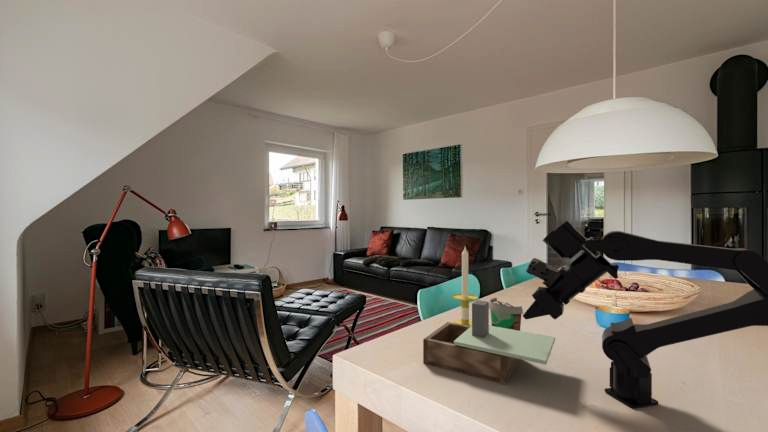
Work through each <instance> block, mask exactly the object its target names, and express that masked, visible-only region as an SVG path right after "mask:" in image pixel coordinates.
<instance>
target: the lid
mask: <svg viewBox="0 0 768 432" xmlns="http://www.w3.org/2000/svg"><path fill="white" fill-rule="evenodd" d="M489 313H490V309H489V301H486V300H479V299H478V300H475V301H474V302H472V303H471V322H472V326H471V327H470V328H468V329H467V330H466V331H465V332H464V333H463V334H461V335H460V336H459V337H458V338H457V339H456V340H455V341H454V345H458V346H462V347H467V348H472V349H476V350H481V351H485V352H490V353H495V354H499V355H504V356H508V357H513V358H517V359H520V360H523V361H528V362H532V363H536V364H540V365H547V363H548V360H549V358H550V355H551V352H552V350H553V347H554V344H555V342H556V337H555V336H552V335H546V334H540V333H534V332H530V331H529V332H528V331H523V330H520V331H518V330H512V329H507V328H501V327H495V326H492V325H490V322H489V321H490V318H489Z"/></svg>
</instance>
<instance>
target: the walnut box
mask: <svg viewBox="0 0 768 432" xmlns="http://www.w3.org/2000/svg"><path fill="white" fill-rule="evenodd" d="M451 322H452V321H447V322H445V323H444V324H443V325H441V326H440V327H438V328H437V329H436V330H434V331H433V332H432V333H430V334H428V336H426V337H424V338H423V339H422V343H423V347H422V348H423V349H422V351H423V354H422V357H423V359H422V364H426V365H428V366H429V365H430V366H433V367H437V368H440V369H444V370H449V371H451V372H456V373H459V374H463V375H467V376H472V377H476V378H479V379H483V380H487V381H491V382H494V383H498V384H502V385H507V384H508V381H509V380H510V378H511V377H512V374H513V373H514V371H515V369H516V368H517V365H518V364H519V362H520V360H521V359H517V358H513V357H508V356H504V355H499V354H495V353H490V352H485V351H481V350H476V349H472V348H467V347H462V346H458V345H454V341H455V340H456V339H457V338H458V337H459V336H460V335H461V334H463V333H464V332H465V331H466V330H467V329H468V328H470V327H471V326H467V325H462V324H456V323H451Z"/></svg>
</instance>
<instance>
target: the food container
mask: <svg viewBox="0 0 768 432" xmlns="http://www.w3.org/2000/svg"><path fill="white" fill-rule="evenodd" d="M497 298H498V297H492V298H490V299H489V301H488V302H489V313H490V321H491V326H495V327H501V328H507V329H512V330H518V331H521V326H522V323H521V321H522V315H524V312H523V311H524V310H523V306H520V305H519V306H514V305H512V304H510V303H508V302H502V301H499V300H498V299H497Z"/></svg>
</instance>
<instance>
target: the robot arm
mask: <svg viewBox="0 0 768 432" xmlns="http://www.w3.org/2000/svg"><path fill="white" fill-rule="evenodd" d="M542 242H543V243H544V244H546V245H547V247H549V248H550V249H551V251H553V252H554V253H555V254H556V255H557V257H559V258H560V259H561V260H563V259H564V258H565V259H568V260H571V259H573V258H574V257H576V255H577V254H578V253H580V252H581V251H584V252H583V253H581V254H580V255H578V256H577V257H576V258H575V259H573V261H571V262H570V263H568V264H567V265H566V266H562V267H561V268H559V269H558V268H556V267H554V266H552V265H550V264H548V263H547V262H544V261H543V260H541V259H538V258H536V257H534V258H532V259H531V260H530V263H529V264H528V266H527V268H526V270H525V272H526V273H527V274H529V275H530V276H534V277H536V278H538V279H540V280H542V281H543V282H542V284H543V286H539V287H537V289H536V290H535V291H534V292H533V294H531V297H532V298H533V299H534V301H533V302H532V303H531V305H530V306H529V307H528V309H527V310H526V311H525V312H523V314H522V317H523V318H524V319H525V320H530V319H536V318H538V317H545V316H549V317H551V318H552V319H553V320H557V319H558V318H560V317H561V316H562V315H563V314H564V311H565V306H567V305H568V304H569V303H571V302H570V301H571V300H572V299H573V298H575V297H576V296H578V295H579V294H582V293H584V292H585V291H586V289H587V288H588V287H590V286H591V285H592V284H593V283H594V282H596V281H597V280H599V279H600V278H601V277H603V276H604V275H605V274H609V275H610V276H611V277H612V278H613V279H614V280H615V279H616V280H617V279H618V278H619V276H618V272H619V271H618V270H619V268H620V267H619V266H620V264H618V263H611V262H610V261H609V260H608V259H610V260H614V261H618V262H619V261H623V262H624V261H629V262H631V261H633V262H634V261H651V260H652V261H664V262H665V261H666V262H671V263H672V262H673V263H678V264H687V265H694V266H701V267H709V268H710V267H711V268H717V269H725V270H732V271H735V272H737V274H738V275H740V277H741V278H742V280H744V282H746V283H747V284H748V286H750V288H752V290H749V291H747V292H746V293H744V294H743V295H742V296H739V297H738V298H736V300H733V301H730V302H726V303H723V304H720V305H715V306H712V307H708V308H704V309H699V310H697V311H696V310H695V311H692V312H689V313H685V314H682V315H678V316H674V317H669V318H666V319H662V320H659V321H655V322H651V323H646V324H643V323H641V324H639V323H638V324H637V323H634V321H633V318H631V317H629V318H626V319H624V320H622V321H619V322H610V323H609V325H610V326H608V327H605V329H604V330H603V332H602V334H601V338H602V339H601V343H602V344H601V346H602V347H601V348H602V352H603V353H604V355H605V357H606V358H608V359H609V360H610V367H609V387H605V388H604V392H605V393H607V395H609V396H612V397H613V398H615V399H616V400H618V401H620V402H622V403H623V404H625V405H626V406H628V407H630V408H632V409H635V408H641V407H648V406H654V405H659V400H657V399H656V398H653V397H652V396H653V388H652V387H653V384H652V383H653V381H652V380H653V379H652V378H653V374H652V369H651V365H650V362H649V358H648V355H650V354H652V353H653V352H654V351H655V350H657V349H659V348H662V347H667V346H670V345H676V344H679V343H684V342H687V341H693V340H697V339H702V338H705V337H709V336H714V335H718V334H722V333H727V332H733V331H735V330H739V329H745V328H747V327H768V261H767V260H766V259H764V257H763V256H762V255H761V253H759V252H756V251H754V250H752V249H751V250H750V249H746V248H742V247H739V248H738V247H737V248H731V247H729V248H728V247H720V246H712V245H711V246H710V245H702V244H692V243H683V242H673V241H664V240H656V239H653V238H649V237H645V236H641V235H638V234H634V233H629V232H625V231H622V230H621V231H620V230H612V231H608V232H606V233H605V234H604V235H603V236H598V237H597V236H596V237H592V236H590V237H585V235H583V233H581V232H580V231H578V230H577V229H576V228H575V226H574V225H573V224H572V223H571V222H570V221H569V220H565V221H564V222H563V223H562V224H560V225H559V227H557V228H556V229H553V230H552V231H551V232H550V233H548V234H547V235H546V236H545V237H544V238H543V239H542ZM589 249H590V250H591V251H594V252H599V253H603V255H604V256H605V257H606V258H607V259H606V258H605V257H604V256H603V255H602V254H598V255H595V254H594V253H593V252H591V251H590V250H589ZM544 285H545V286H544Z"/></svg>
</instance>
